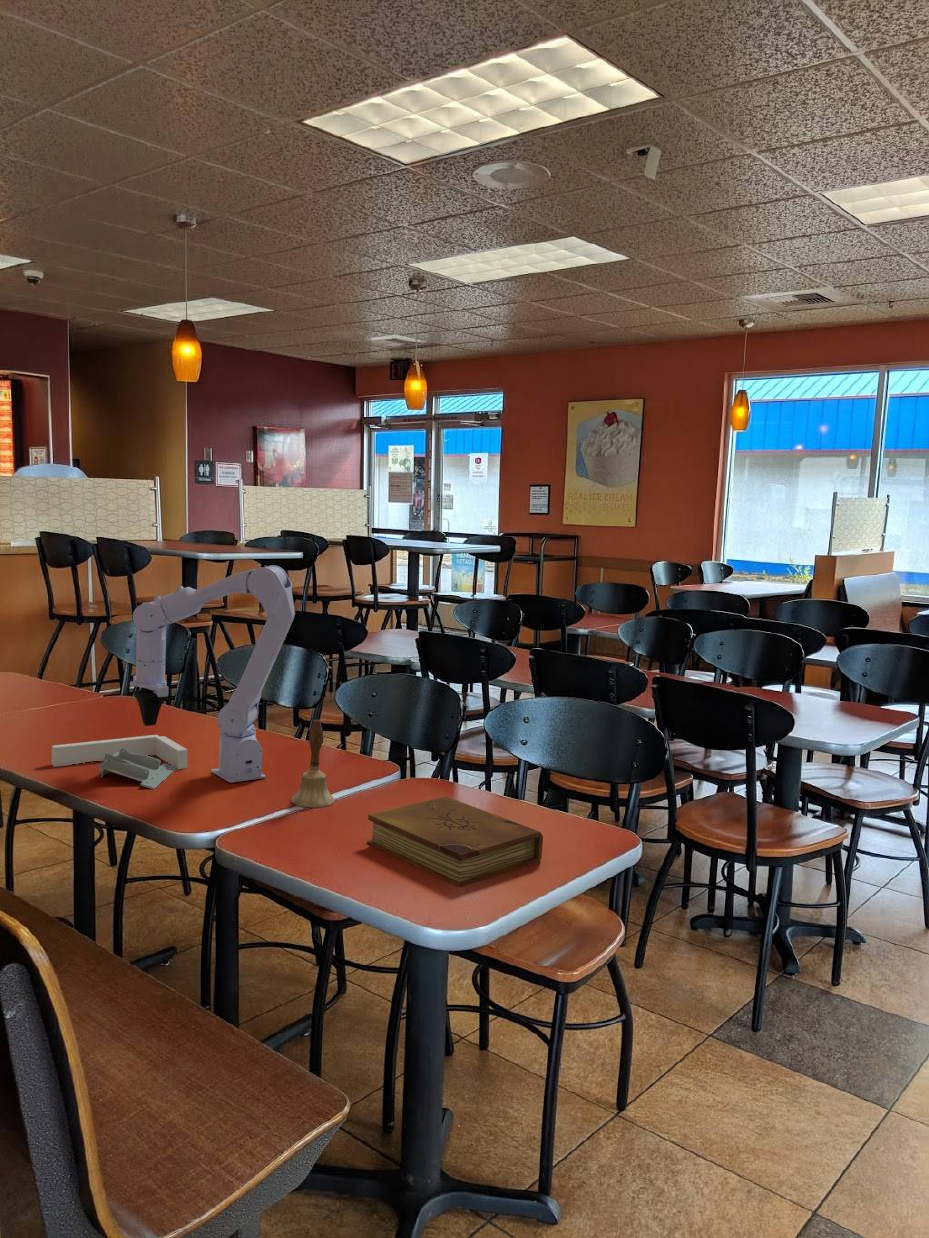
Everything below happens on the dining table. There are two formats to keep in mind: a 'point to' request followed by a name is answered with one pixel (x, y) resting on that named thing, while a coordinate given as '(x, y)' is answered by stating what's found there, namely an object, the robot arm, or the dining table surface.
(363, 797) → the dining table surface
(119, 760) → the metal bracket
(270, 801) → the dining table surface
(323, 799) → the hand bell
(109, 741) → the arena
